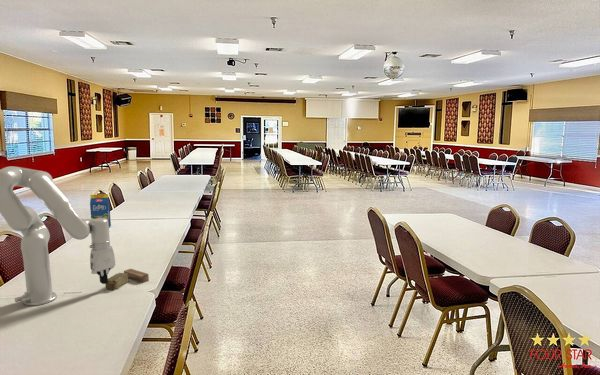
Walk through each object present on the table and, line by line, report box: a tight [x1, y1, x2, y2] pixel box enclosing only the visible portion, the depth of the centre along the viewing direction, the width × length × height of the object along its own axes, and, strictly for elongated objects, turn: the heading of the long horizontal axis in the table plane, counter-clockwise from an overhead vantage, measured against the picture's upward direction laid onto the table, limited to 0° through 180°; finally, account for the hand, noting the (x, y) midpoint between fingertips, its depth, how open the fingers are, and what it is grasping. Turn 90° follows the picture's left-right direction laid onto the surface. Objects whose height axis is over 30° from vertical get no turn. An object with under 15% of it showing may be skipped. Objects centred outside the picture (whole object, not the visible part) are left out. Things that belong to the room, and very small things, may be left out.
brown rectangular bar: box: [123, 268, 150, 284], centre depth 211 cm, size 4×14×4 cm, turn 57°
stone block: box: [104, 272, 129, 291], centre depth 202 cm, size 6×12×5 cm, turn 171°
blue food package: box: [89, 193, 112, 229], centre depth 312 cm, size 6×12×25 cm, turn 104°
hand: (103, 282), depth 196 cm, fingers closed
